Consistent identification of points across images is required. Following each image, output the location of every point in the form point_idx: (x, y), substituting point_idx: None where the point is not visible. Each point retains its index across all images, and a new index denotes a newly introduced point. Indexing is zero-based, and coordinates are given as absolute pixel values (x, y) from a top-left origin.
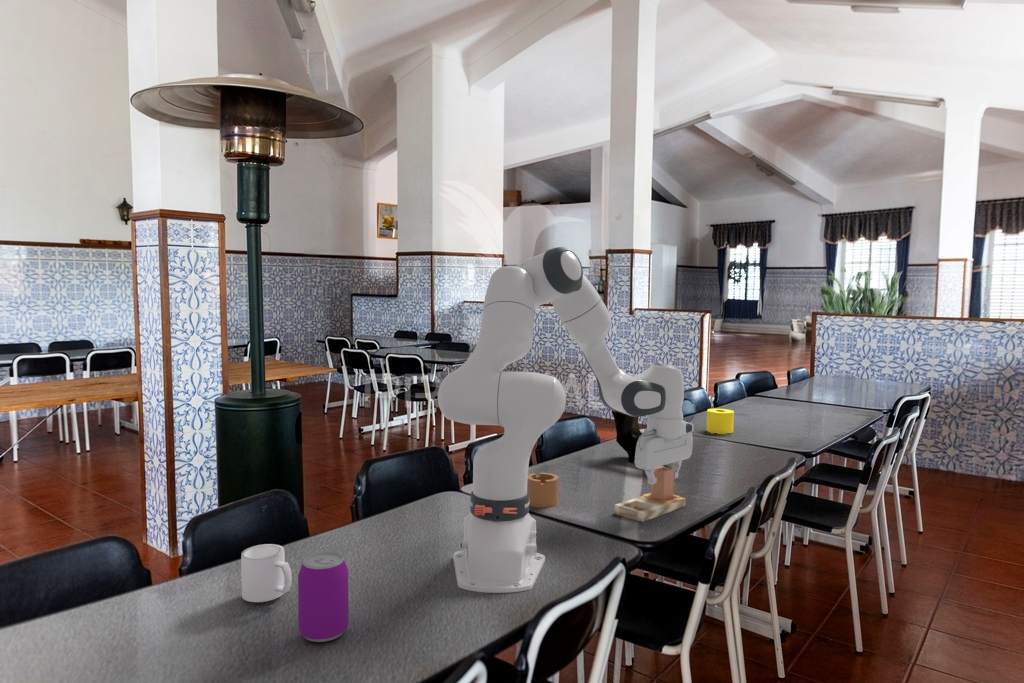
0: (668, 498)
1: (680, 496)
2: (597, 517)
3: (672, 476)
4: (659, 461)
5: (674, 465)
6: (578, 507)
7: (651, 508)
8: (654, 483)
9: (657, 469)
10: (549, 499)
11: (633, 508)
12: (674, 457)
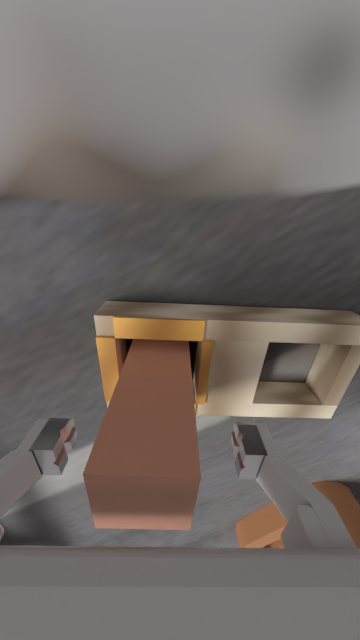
0: (159, 352)
1: (98, 337)
2: (356, 406)
3: (115, 426)
4: (335, 636)
5: (2, 503)
6: (307, 457)
7: (305, 334)
8: (256, 426)
9: (185, 511)
10: (349, 501)
11: (339, 371)
12: (24, 637)
